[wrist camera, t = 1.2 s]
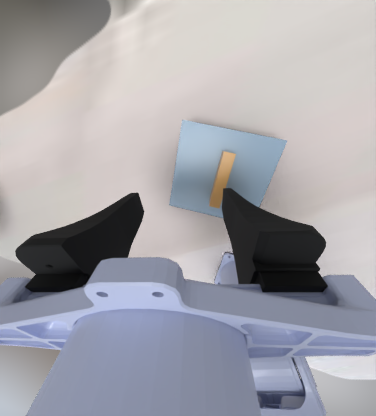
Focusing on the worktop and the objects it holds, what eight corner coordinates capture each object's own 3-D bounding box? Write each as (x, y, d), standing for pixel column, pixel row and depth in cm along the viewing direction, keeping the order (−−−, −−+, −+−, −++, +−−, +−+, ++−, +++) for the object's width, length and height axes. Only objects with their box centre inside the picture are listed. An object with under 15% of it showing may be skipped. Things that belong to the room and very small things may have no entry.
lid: (281, 141, 17) (301, 139, 13) (249, 220, 21) (257, 236, 17) (184, 121, 18) (176, 114, 14) (172, 201, 22) (163, 213, 18)
